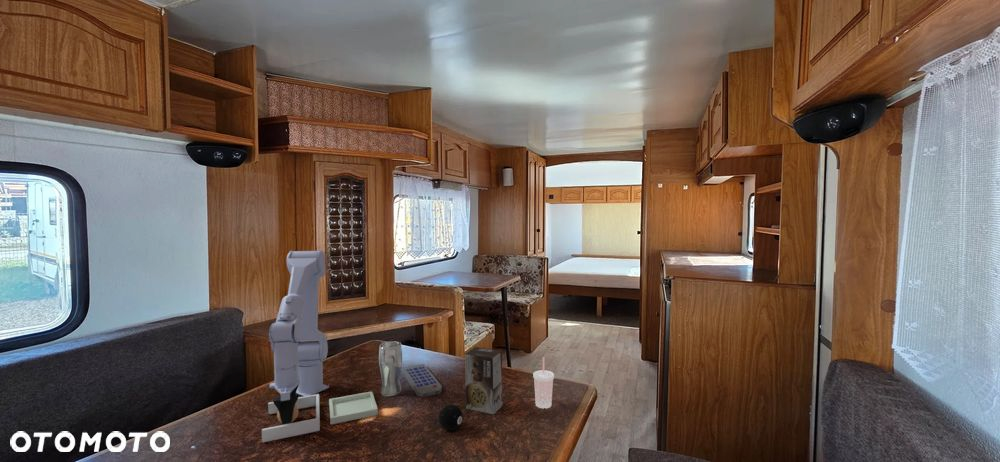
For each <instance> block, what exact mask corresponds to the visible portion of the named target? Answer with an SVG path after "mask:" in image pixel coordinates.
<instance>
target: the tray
mask: <svg viewBox="0 0 1000 462" xmlns="http://www.w3.org/2000/svg"><path fill="white" fill-rule="evenodd" d="M328 405H329V406H328V407H329V418H330V420H329V421H330V422H329V423H330V425H336V424H340V423H345V422H349V421H354V420H361V419H364V418H369V417H375V416H378V415H379V413H378V412H379V410H378V409H379V408H378V405H377V402H376V400H375V396H374V393H373V390H372V391H368V392H367V391H366V392H361V393H360V392H359V393H355V394H351V395H344V396H340V397H332V398H329V399H328Z"/></svg>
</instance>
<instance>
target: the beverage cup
mask: <svg viewBox="0 0 1000 462" xmlns="http://www.w3.org/2000/svg"><path fill="white" fill-rule="evenodd" d="M532 375H533V376H532V378H533V383H534V397H535V399H534V401H535V406H536V407H538V408H539V409H544V408H545V409H549V408H551V407H552V402H553V388H554V387H553V386H554V379H555V373H554V372H553V371H550V370H545V356H542V369H539V370H535V371H533V373H532Z"/></svg>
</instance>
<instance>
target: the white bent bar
mask: <svg viewBox="0 0 1000 462" xmlns="http://www.w3.org/2000/svg"><path fill="white" fill-rule="evenodd" d="M295 405H296V406H297V408H298V410H300V409H307V408H311V407H315V418H311V419H307V420H306V419H305V420H302V421H296V422H291V423H289V424H280V425H276V426H270V427H266V428H261V443H262V444H263V443H266V442H267V443H268V442H271V441H276V440H282V439H285V438H290V437H291V438H292V437H296V436H301V435H304V434H305V435H306V434H309V433H315V432H319V431H320V429H321V427H320V426H321V423H320V422H321V420H320V414H321V413H320V394H319V393H316V394H313V395H310V396H298V399H297V401H296V404H295ZM267 407H268V415H273V414H277V413H278V409H277V407H276V406H275V404H274V402H273V401H270V402H268V403H267Z"/></svg>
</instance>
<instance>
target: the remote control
mask: <svg viewBox="0 0 1000 462" xmlns="http://www.w3.org/2000/svg"><path fill="white" fill-rule="evenodd" d="M401 372H402V374H403V376H404V377H405V378H406V380H407V381H408V383H409V384H410V387H411V388H412V389H413V391H414V393H415V394H416V396H417V397H421V398H424V397H429V396H434V395H437V394H441V393H442V390H443V386H442V384H441V383H440V382H439V381H438V379H437V378H436V377H435V375H434V374H433V373H432V372H431V371H430V370H429V368H428V367H427V366H426V365H425V363H421V364H415V365H414V364H413V365H409V366H405V367H401Z"/></svg>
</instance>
